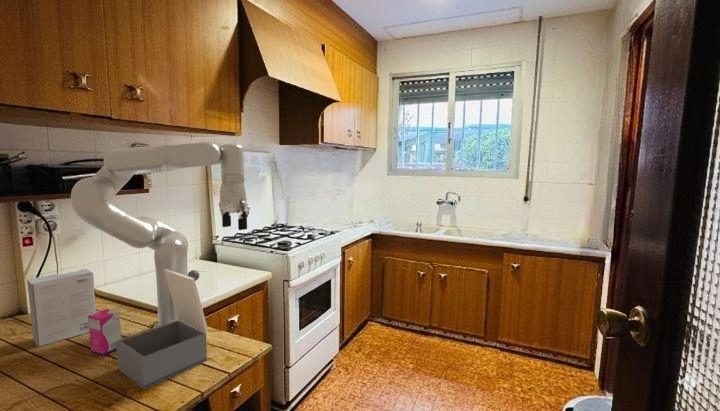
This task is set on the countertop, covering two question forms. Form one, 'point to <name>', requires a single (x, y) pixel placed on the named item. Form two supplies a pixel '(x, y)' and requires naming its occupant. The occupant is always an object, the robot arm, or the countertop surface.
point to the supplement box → (104, 331)
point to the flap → (186, 298)
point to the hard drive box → (61, 305)
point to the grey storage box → (161, 353)
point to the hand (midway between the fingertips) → (234, 228)
